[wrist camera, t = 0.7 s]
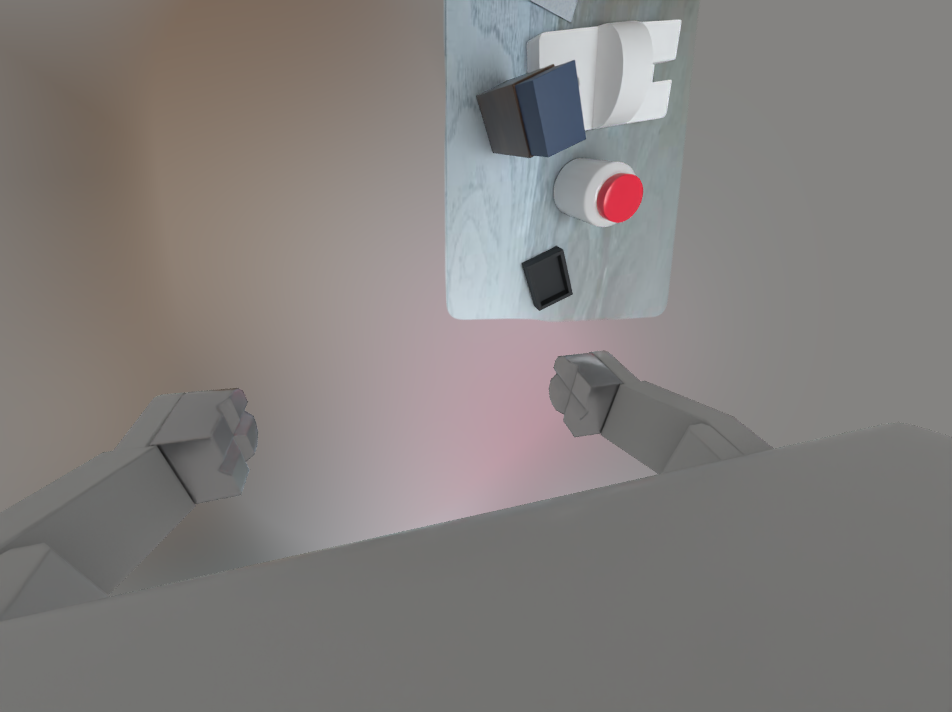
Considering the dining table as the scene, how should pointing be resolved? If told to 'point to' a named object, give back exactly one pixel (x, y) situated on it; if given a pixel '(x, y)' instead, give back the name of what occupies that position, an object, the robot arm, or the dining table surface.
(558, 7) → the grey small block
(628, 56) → the slotted mounting bracket
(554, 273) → the dark rectangular tray
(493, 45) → the dining table surface
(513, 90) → the dark brown tall block
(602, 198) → the pill bottle
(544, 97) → the dark blue rectangular block
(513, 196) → the dining table surface
